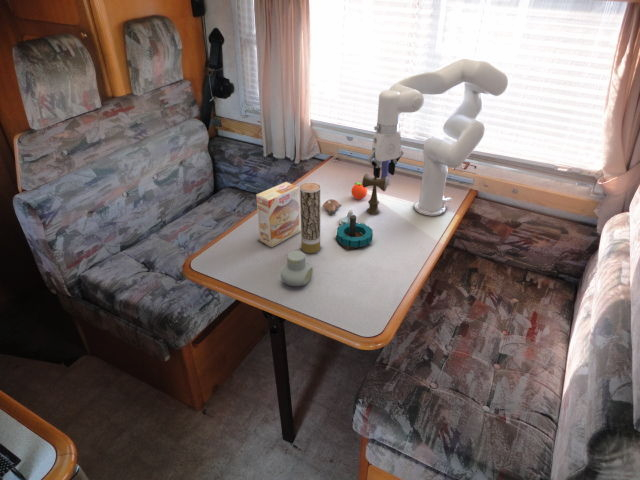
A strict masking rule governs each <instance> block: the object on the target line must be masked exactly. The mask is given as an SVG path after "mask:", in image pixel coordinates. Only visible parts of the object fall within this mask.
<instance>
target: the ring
mask: <svg viewBox="0 0 640 480" xmlns="http://www.w3.org/2000/svg"><path fill="white" fill-rule="evenodd" d="M349 225H350V223H346V224H343V225H341V224H340V225H339V226H338V227H337V229H336V235H337V239H336V241H338V242H339V243H340V244H341V243H342V244H343V245H346V246H350V247H357V248H361V247H366V246H368V245H369V244H370V243H372V241H373V238H374V237H373V235H374V234H373V228H371V227H370V226H369V225H368V224H366V223H365V224H364V223H361V222H360V223H359V222H356V232H359V233H361V234H362V235H363V236H361V237H350V236H347V235H346V233H348V232H349ZM342 244H341V245H342ZM367 244H368V245H367ZM343 245H342V246H343ZM358 246H359V247H358Z"/></svg>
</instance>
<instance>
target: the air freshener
mask: <svg viewBox="0 0 640 480" xmlns="http://www.w3.org/2000/svg"><path fill="white" fill-rule="evenodd" d="M313 272H314V269H313V266H312V265H311V264H310V263H309V262H307V260H306V253H305V252H304V251H301V250H292V251H290V252H288V253H287V255H286V263H285V264H284V265H283V267H282V269H281V272H280V279H281V281H282V282H283V283H284V284H286V285H288V286H291V287H301V286H306V285H307V284H308V283H309V282H310V280H311V278H312V275H313Z"/></svg>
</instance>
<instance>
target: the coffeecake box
mask: <svg viewBox="0 0 640 480" xmlns="http://www.w3.org/2000/svg"><path fill="white" fill-rule="evenodd" d="M255 196H256V197H255V199H256V210H257V221H258V223H257V225H258V235H259V236H258V237H259V241H260V242H261V243H263V244H265V245H267V246H268V247H270V248H273V247H275V246H277V245H279V244H281V243H282V242H284V241H286V240H287V239H290V238H291V237H294V236H295V235H297V234H299V233H300V192H299V186H297V185H295V184H292V183H291V182H288V181H285V182H282V183H280V184H277V185H275V186H273V187H270V188H269V189H266V190H263V191H261V192H259V193H256V194H255Z"/></svg>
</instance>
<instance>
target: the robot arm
mask: <svg viewBox="0 0 640 480" xmlns="http://www.w3.org/2000/svg"><path fill="white" fill-rule="evenodd" d="M462 84H464V92H463V97H462V99H461V102H460V103H459V104H458V105H457V107H456V108H455V109H454V110H453V112H452V113H451V115H450V116H449V117H448V118H447V120H446V121H445V122H444V124H443V128H442V129H443V133H444V134H445V135H446V136H448V137H446V136H444V135H441V134H432V135H430V136H428V137H427V138H426V139H425V141H424V144H423V149H422V153H423V168H422V169H423V170H422V175H421V184H420V191H419V199H418V201H416V202H415V203H414V210H415V211H416V212H418V213H419V214H422V215H424V216H428V217H429V216H430V217H436V216H441V215H443V214H444V213H445V211H446V206H445V204H447V203H451V202H452V197H446V198H445V195H444V194H445V189H446V183H447V177H448V168H450V169H455V168H456V169H457V168H458V167H460V166H461V165H462V164H463V163H464V162H465V161H466V160H467V159H468V158H469V156H470V155H471V154H472V153H473V151H474V150H475V149H476V148H477V146H479V144H480V142H481V141H482V139H483V137H484V135H485V129H486V128H485V125H484V123H483V122H482V121H481V120H479V119H478V117H479V115H480V114H481V113H482V110H483V107H484V99H483V95H487V96H490V97H499V96H501V95H502V94H503V93H504V92H505V91H506V90H507V88H508V84H509V81H508V76H507V75H506V74H505V72H503V71H502V70H500V69H499V68H497V67H496V66H494V65H493V64H491V63H490V62H488V61H486V60H483V59H479V58H475V57H470V56H459V57H457V58H456V59H454V60H452V61H449V62H448V63H447V64H444V65H443V66H440V67H439V68H437V69H435V70H432V71H427V72H423V73H419V74H414V75H410V76H408V77H405V78H403V79H401V80H399V81H397V82H395V83H394V84H393V85H392V86H391V87H389V89H388V90H387V89H386V90H382V91H381V92H380V93H379V95H378V104H377V105H378V107H377V120H376V121H377V122H376V126H374V127H373V128H374V135H373V139H372V145H371V153H369V155H367V157H366V161H367V162H368V163H369V164H370V165H371V166H373V172H372V173H373V174H372V175H373V177H374V176H375V177H376V178H377V179H381V177H380V176H381V167H380V165H381V164H382V161H388V160H390V162H389V166H388V173H389V175H391V176H395V171H396V165H397V164H398V162H399V160H400V159H401V158H402V156H403V155H404V153H405V152H404V151H403V150H402V135H401V131H400V127H399V125H400V115H401V113H404V114H405V113H406V114H409V113H410V114H411V113H416V112H418V111H420V110H421V109H422V107H423V106H424V104H425V98H424V95H430V96H431V95H442V94H445V93H447V92H449V91H450V90H452V89H454V88H456V87H458V86H460V85H462ZM398 128H399V130H398ZM449 137H450V138H449ZM451 138H452V139H451Z"/></svg>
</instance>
